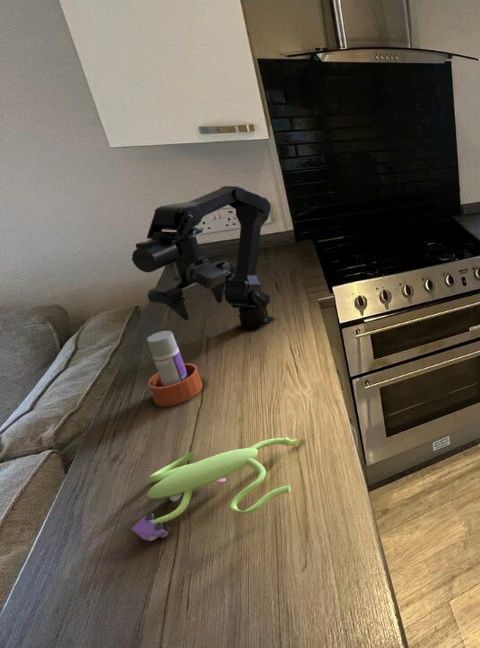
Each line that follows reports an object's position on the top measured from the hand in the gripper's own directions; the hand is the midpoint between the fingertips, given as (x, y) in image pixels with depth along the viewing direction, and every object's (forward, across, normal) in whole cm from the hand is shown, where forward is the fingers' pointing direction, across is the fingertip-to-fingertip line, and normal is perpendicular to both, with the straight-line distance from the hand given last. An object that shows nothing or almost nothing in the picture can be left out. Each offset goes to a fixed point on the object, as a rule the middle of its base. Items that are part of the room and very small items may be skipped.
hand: (203, 310), depth 114 cm
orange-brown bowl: (+13, -15, -6) cm, 21 cm away
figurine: (+13, -33, -40) cm, 54 cm away
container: (+13, -15, -6) cm, 20 cm away
